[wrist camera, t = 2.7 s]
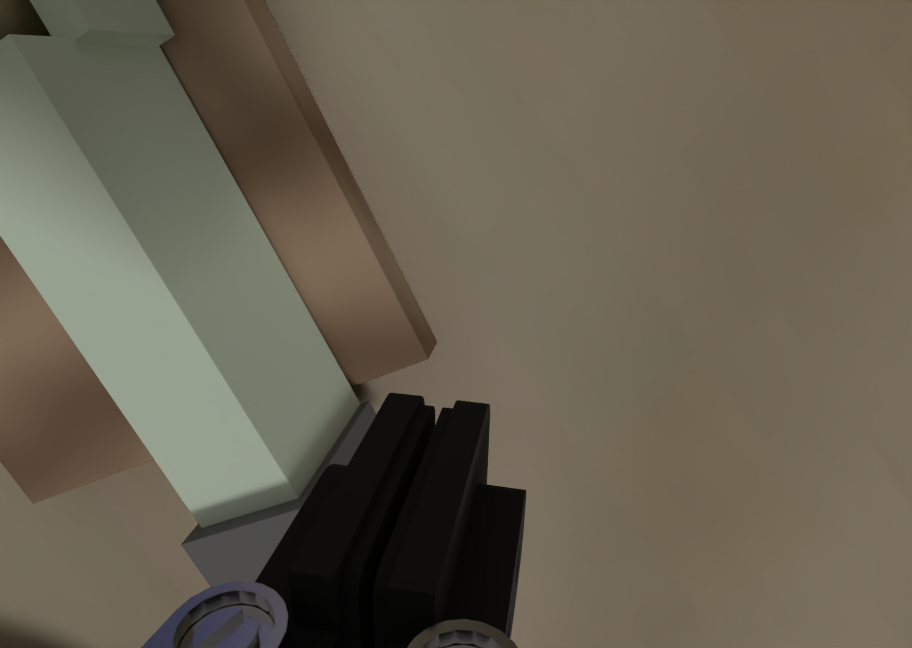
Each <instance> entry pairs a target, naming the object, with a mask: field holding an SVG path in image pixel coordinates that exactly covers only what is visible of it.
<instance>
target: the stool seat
mask: <svg viewBox="0 0 912 648" xmlns="http://www.w3.org/2000/svg"><path fill="white" fill-rule="evenodd" d="M156 1H157V3H158V5H159V7H160V8H161V10H162V12H163V14H164V16H165V17H166V19H167V21H168V23H169V25H170V27H171V28H172V30H173V32H174V34H175V36H173V37H172V38H170V39H169V40H167V41H166V42H164V43H163V44H161V45H160V48H161V50H162V52H163V54H164V55H165V57H166V59H167V61H168V62H169V64H170V66H171V68H172V70H173V71H174V73H175V75H176V77H177V78H178V80H179V82H180V84H181V86H182V87H183V89H184V91H185V93H186V94H187V96H188V98H189V100H190V102H191V103H192V105H193V107H194V109H195V110H196V112H197V114H198V116H199V118H200V119H201V121H202V123H203V125H204V126H205V128H206V130H207V132H208V134H209V135H210V137H211V139H212V141H213V142H214V144H215V146H216V148H217V150H218V151H219V153H220V155H221V157H222V158H223V160H224V162H225V164H226V166H227V167H228V169H229V171H230V173H231V174H232V176H233V178H234V180H235V182H236V183H237V185H238V187H239V189H240V191H241V192H242V194H243V196H244V198H245V199H246V201H247V203H248V205H249V207H250V208H251V210H252V212H253V214H254V215H255V217H256V219H257V221H258V223H259V224H260V226H261V228H262V230H263V231H264V233H265V235H266V237H267V239H268V240H269V242H270V244H271V246H272V247H273V249H274V251H275V253H276V255H277V256H278V258H279V260H280V262H281V263H282V265H283V267H284V269H285V271H286V272H287V274H288V276H289V278H290V279H291V281H292V283H293V285H294V287H295V288H296V290H297V292H298V294H299V295H300V297H301V299H302V301H303V303H304V304H305V306H306V308H307V310H308V311H309V313H310V315H311V317H312V319H313V320H314V322H315V324H316V326H317V327H318V329H319V331H320V333H321V335H322V336H323V338H324V340H325V342H326V343H327V345H328V347H329V349H330V351H331V352H332V354H333V356H334V358H335V359H336V361H337V363H338V365H339V367H340V368H341V370H342V372H343V374H344V375H345V377H346V379H347V381H348V383H349V384H350V386H351V387H353V386H355V385H358V384H361V383H364V382H366V381H369V380H372V379H375V378H377V377H380V376H383V375H385V374H388V373H391V372H394V371H396V370H399V369H402V368H405V367H407V366H410V365H413V364H416V363H418V362H421V361H424V360H426V359H428V358H429V357H430V355H431V353H432V351H433V349H434V347H435V345H436V343H437V341H436V339H435V337H434V335H433V333H432V331H431V329H430V327H429V325H428V323H427V321H426V319H425V317H424V315H423V313H422V311H421V309H420V307H419V305H418V303H417V301H416V300H415V298H414V296H413V294H412V292H411V290H410V288H409V286H408V284H407V282H406V280H405V278H404V276H403V274H402V272H401V270H400V268H399V266H398V264H397V262H396V260H395V258H394V256H393V254H392V252H391V250H390V248H389V246H388V244H387V242H386V240H385V238H384V236H383V234H382V232H381V230H380V228H379V226H378V224H377V223H376V221H375V219H374V217H373V215H372V213H371V211H370V209H369V207H368V205H367V203H366V201H365V199H364V197H363V195H362V193H361V191H360V189H359V187H358V185H357V183H356V181H355V179H354V177H353V175H352V173H351V171H350V169H349V167H348V165H347V163H346V161H345V159H344V157H343V155H342V153H341V151H340V149H339V147H338V146H337V144H336V142H335V140H334V138H333V136H332V134H331V132H330V130H329V128H328V126H327V124H326V122H325V120H324V118H323V116H322V114H321V112H320V110H319V108H318V106H317V104H316V102H315V100H314V98H313V96H312V94H311V92H310V90H309V88H308V86H307V84H306V82H305V80H304V78H303V76H302V74H301V72H300V70H299V68H298V67H297V65H296V63H295V61H294V59H293V57H292V55H291V53H290V51H289V49H288V47H287V45H286V43H285V41H284V39H283V37H282V35H281V33H280V31H279V29H278V27H277V25H276V23H275V21H274V19H273V17H272V15H271V13H270V11H269V9H268V7H267V5H266V3H265V1H264V0H156ZM8 34H15V35H34V36H51V35H50V33H49V31H48V30H47V28H46V26H45V25H44V23H43V21H42V20H41V18H40V17H39V15H38V13H37V12H36V10H35V8H34V7H33V5H32V3H31V2H30V0H0V40H2V39H3V38H4V37H6V36H7V35H8ZM153 459H154V458H153V457H152V455H151V454H150V452H149V451H148V449H147V448H146V446H145V445H144V444H143V442H142V441H141V439H140V438H139V436H138V435H137V433H136V432H135V430H134V429H133V428H132V426H131V425H130V423H129V422H128V420H127V419H126V417H125V416H124V415H123V413H122V412H121V410H120V409H119V407H118V406H117V404H116V403H115V401H114V400H113V399H112V397H111V396H110V394H109V393H108V391H107V390H106V388H105V387H104V385H103V384H102V383H101V381H100V380H99V378H98V377H97V375H96V374H95V372H94V371H93V370H92V368H91V367H90V365H89V364H88V362H87V361H86V359H85V358H84V356H83V355H82V354H81V352H80V351H79V349H78V348H77V346H76V345H75V343H74V342H73V340H72V339H71V338H70V336H69V335H68V333H67V332H66V330H65V329H64V327H63V326H62V324H61V323H60V322H59V320H58V319H57V317H56V316H55V314H54V313H53V311H52V310H51V309H50V307H49V306H48V304H47V303H46V301H45V300H44V298H43V297H42V295H41V294H40V293H39V291H38V290H37V288H36V287H35V285H34V284H33V282H32V281H31V279H30V278H29V277H28V275H27V274H26V272H25V271H24V269H23V268H22V266H21V265H20V263H19V262H18V261H17V259H16V258H15V256H14V255H13V253H12V252H11V250H10V249H9V248H8V246H7V245H6V243H5V242H4V240H3V239H2V237H1V236H0V462H1V463H2V464H3V466H4V467H5V468H6V469H7V471H8V472H9V473H10V475H11V476H12V477H13V478H14V480H15V481H16V482H17V484H18V485H19V486H20V488H21V489H22V490H23V491H24V493H25V494H26V495H27V497H28V498H29V499H30V501H31V502H32V503H36V502H38V501H41V500H44V499H47V498H49V497H52V496H55V495H57V494H60V493H63V492H66V491H68V490H71V489H74V488H77V487H79V486H82V485H85V484H88V483H90V482H93V481H96V480H98V479H101V478H104V477H107V476H109V475H112V474H115V473H118V472H120V471H123V470H126V469H129V468H131V467H134V466H137V465H139V464H142V463H145V462H148V461H150V460H153Z"/></svg>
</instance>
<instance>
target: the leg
mask: <svg viewBox="0 0 912 648" xmlns="http://www.w3.org/2000/svg"><path fill="white" fill-rule="evenodd" d="M30 2H31V3H32V5H33V7H34V8H35V10H36V12H37V13H38V15H39V17H40V18H41V20H42V21H43V23H44V25H45V26H46V28H47V30H48V31H49V33H50V35H51V36H34V35H15V34H8V35H7V36H6V37H4V38H3V39H2V40H0V236H1V237H2V239H3V240H4V242H5V243H6V245H7V246H8V248H9V249H10V250H11V252H12V253H13V255H14V256H15V258H16V259H17V261H18V262H19V263H20V265H21V266H22V268H23V269H24V271H25V272H26V274H27V275H28V277H29V278H30V279H31V281H32V282H33V284H34V285H35V287H36V288H37V290H38V291H39V293H40V294H41V295H42V297H43V298H44V300H45V301H46V303H47V304H48V306H49V307H50V309H51V310H52V311H53V313H54V314H55V316H56V317H57V319H58V320H59V322H60V323H61V324H62V326H63V327H64V329H65V330H66V332H67V333H68V335H69V336H70V338H71V339H72V340H73V342H74V343H75V345H76V346H77V348H78V349H79V351H80V352H81V354H82V355H83V356H84V358H85V359H86V361H87V362H88V364H89V365H90V367H91V368H92V370H93V371H94V372H95V374H96V375H97V377H98V378H99V380H100V381H101V383H102V384H103V385H104V387H105V388H106V390H107V391H108V393H109V394H110V396H111V397H112V399H113V400H114V401H115V403H116V404H117V406H118V407H119V409H120V410H121V412H122V413H123V415H124V416H125V417H126V419H127V420H128V422H129V423H130V425H131V426H132V428H133V429H134V430H135V432H136V433H137V435H138V436H139V438H140V439H141V441H142V442H143V444H144V445H145V446H146V448H147V449H148V451H149V452H150V454H151V455H152V457H153V458H154V460H155V461H156V462H157V464H158V465H159V467H160V468H161V470H162V471H163V473H164V474H165V476H166V477H167V478H168V480H169V481H170V483H171V484H172V486H173V487H174V489H175V490H176V491H177V493H178V494H179V496H180V497H181V499H182V500H183V502H184V503H185V505H186V506H187V507H188V509H189V510H190V512H191V513H192V515H193V516H194V518H195V519H196V521H197V522H198V523H199V524H198V525H197V526H196V527H195V529H194V530H193V531H192V532H191V533H190V534H189V536H188V537H187V538H186V539H185V540H184V542H183V543H182V544H181V545H182V547H183V548H184V550H185V551H186V552H187V554H188V555H189V557H190V558H191V559H192V561H193V562H194V564H195V565H196V567H197V568H198V569H199V571H200V572H201V574H202V575H203V576H204V578H205V579H206V581H207V582H208V583H209V585H210V586H211V587H214V586H217V585H220V584H223V583H227V582H237V581H250V582H255V581H256V579H257V578H258V576H259V575H260V573H261V571H262V570H263V568H264V567H265V565H266V563H267V562H268V560H269V559H270V557H271V555H272V554H273V552H274V550H275V549H276V547H277V546H278V544H279V542H280V541H281V539H282V538H283V536H284V534H285V533H286V531H287V530H288V528H289V526H290V525H291V523H292V522H293V520H294V518H295V517H296V515H297V513H298V512H299V510H300V509H301V507H302V505H303V504H304V502H305V501H306V499H307V497H308V496H309V494H310V493H311V491H312V489H313V488H314V486H315V484H316V483H317V481H318V480H319V478H320V476H321V475H322V473H323V472H324V470H325V469H326V468H327V467H328V465H331V464H340V465H348V464H349V462H350V460H351V458H352V457H353V455H354V453H355V451H356V450H357V448H358V446H359V444H360V443H361V441H362V439H363V438H364V436H365V434H366V432H367V431H368V429H369V427H370V425H371V424H372V422H373V420H374V418H375V417H376V413H375V411H374V409H373V407H372V406H371V404H370V402H369V401H367V402H365V403H362V404H360V402H359V400H358V399H357V397H356V395H355V393H354V391H353V390H352V388H351V386H350V384H349V383H348V381H347V379H346V377H345V375H344V374H343V372H342V370H341V368H340V367H339V365H338V363H337V361H336V359H335V358H334V356H333V354H332V352H331V351H330V349H329V347H328V345H327V343H326V342H325V340H324V338H323V336H322V335H321V333H320V331H319V329H318V327H317V326H316V324H315V322H314V320H313V319H312V317H311V315H310V313H309V311H308V310H307V308H306V306H305V304H304V303H303V301H302V299H301V297H300V295H299V294H298V292H297V290H296V288H295V287H294V285H293V283H292V281H291V279H290V278H289V276H288V274H287V272H286V271H285V269H284V267H283V265H282V263H281V262H280V260H279V258H278V256H277V255H276V253H275V251H274V249H273V247H272V246H271V244H270V242H269V240H268V239H267V237H266V235H265V233H264V231H263V230H262V228H261V226H260V224H259V223H258V221H257V219H256V217H255V215H254V214H253V212H252V210H251V208H250V207H249V205H248V203H247V201H246V199H245V198H244V196H243V194H242V192H241V191H240V189H239V187H238V185H237V183H236V182H235V180H234V178H233V176H232V174H231V173H230V171H229V169H228V167H227V166H226V164H225V162H224V160H223V158H222V157H221V155H220V153H219V151H218V150H217V148H216V146H215V144H214V142H213V141H212V139H211V137H210V135H209V134H208V132H207V130H206V128H205V126H204V125H203V123H202V121H201V119H200V118H199V116H198V114H197V112H196V110H195V109H194V107H193V105H192V103H191V102H190V100H189V98H188V96H187V94H186V93H185V91H184V89H183V87H182V86H181V84H180V82H179V80H178V78H177V77H176V75H175V73H174V71H173V70H172V68H171V66H170V64H169V62H168V61H167V59H166V57H165V55H164V54H163V52H162V50H161V48H160V45H161V44H163V43H164V42H166V41H167V40H169V39H170V38H172V37H173V36H175V34H174V32H173V30H172V28H171V27H170V25H169V23H168V21H167V19H166V17H165V16H164V14H163V12H162V10H161V8H160V7H159V5H158V3H157V1H156V0H30Z"/></svg>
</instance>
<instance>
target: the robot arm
mask: <svg viewBox="0 0 912 648" xmlns="http://www.w3.org/2000/svg"><path fill="white" fill-rule="evenodd" d="M489 426H490V405H489V404H485V403H476V402H467V401H459V400H457V401H456V402H455V405H454V407H453V409H452V408H442V410H441V413H440V415H439V418H438V420H437V423H436V425H435V408H434V406H427V405H425V402H424V398H423V396H416V395H407V394H398V393H389V395H388V396H387V397H386V399H385V401H384V403H383V404H382V406H381V408H380V410H379V411H378V413H377V415H376V417H375V418H374V420H373V422H372V424H371V425H370V427H369V429H368V431H367V432H366V434H365V436H364V438H363V439H362V441H361V443H360V444H359V446H358V448H357V450H356V451H355V453H354V455H353V457H352V458H351V460H350V462H349V464H348V465H340V464H331V465H328V467H327V468H326V469H325V470H324V472H323V473H322V475H321V476H320V478H319V480H318V481H317V483H316V484H315V486H314V488H313V489H312V491H311V493H310V494H309V496H308V497H307V499H306V501H305V502H304V504H303V505H302V507H301V509H300V510H299V512H298V513H297V515H296V517H295V518H294V520H293V522H292V523H291V525H290V526H289V528H288V530H287V531H286V533H285V534H284V536H283V538H282V539H281V541H280V542H279V544H278V546H277V547H276V549H275V550H274V552H273V554H272V555H271V557H270V559H269V560H268V562H267V563H266V565H265V567H264V568H263V570H262V571H261V573H260V575H259V576H258V578H257V579H256V581H255V582H250V581H237V582H227V583H223V584H220V585H217V586H214V587H211V588H208V589H206V590H204V591H202V592H200V593H199V594H197V595H195V596H193V597H191V598H190V599H189V600H188V601H186V602H185V603H184V604H183V605H182V606H181V607H179V608H178V609H177V610H176V611H175V612H174V613H173V614H172V615H171V616H170V617H169V618H168V619H167V621H166V622H165V623H164V624H163V625H162V626H161V627H160V628H159V629H158V630H157V631H156V632H155V633H154V635H153V636H152V637H151V638H150V639H149V640H148V641H147V642H146V643H145V644H144V645H143V646H142V647H141V648H518V647H517V646H516V644H515V643H514V642H513V641H512V640H511V639H510V638H511V631H512V623H513V616H514V608H515V600H516V593H517V585H518V577H519V569H520V560H521V550H522V540H523V529H524V517H525V504H526V490H522V489H514V488H507V487H500V486H493V485H487V468H488V447H489Z"/></svg>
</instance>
